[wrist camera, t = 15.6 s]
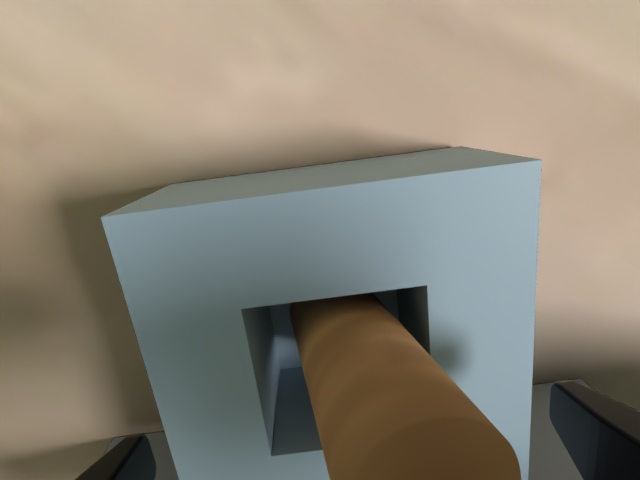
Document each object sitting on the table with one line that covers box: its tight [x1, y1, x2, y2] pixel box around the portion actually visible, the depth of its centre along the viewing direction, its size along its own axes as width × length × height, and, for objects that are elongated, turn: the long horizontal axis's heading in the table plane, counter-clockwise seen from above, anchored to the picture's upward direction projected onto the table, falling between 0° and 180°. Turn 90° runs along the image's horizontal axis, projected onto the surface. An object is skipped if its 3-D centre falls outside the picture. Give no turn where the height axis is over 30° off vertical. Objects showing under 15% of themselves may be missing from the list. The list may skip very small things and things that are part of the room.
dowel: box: [290, 292, 521, 480], centre depth 10 cm, size 3×3×8 cm
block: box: [101, 146, 542, 480], centre depth 13 cm, size 10×10×5 cm
